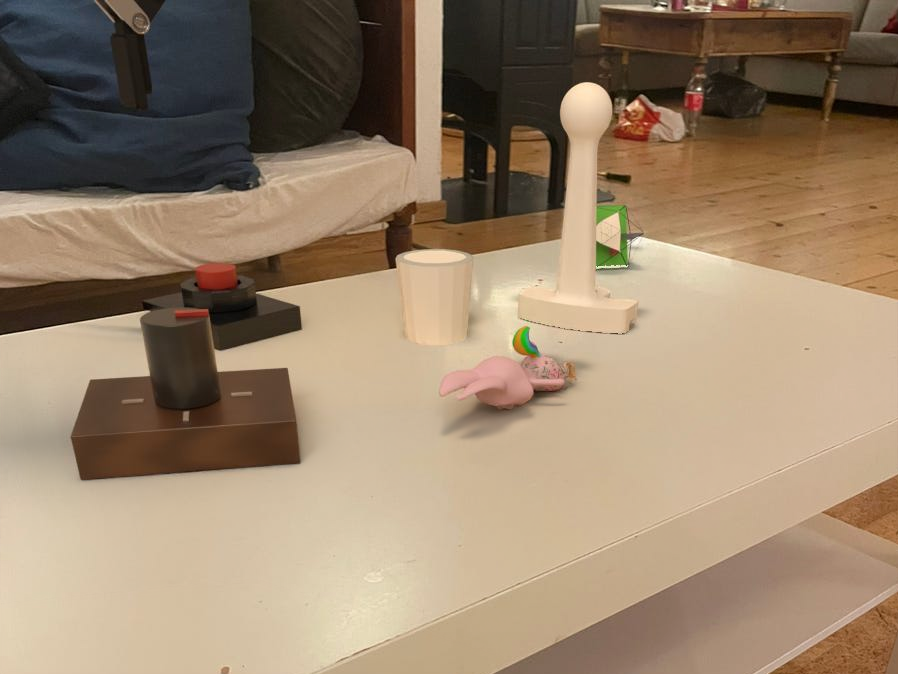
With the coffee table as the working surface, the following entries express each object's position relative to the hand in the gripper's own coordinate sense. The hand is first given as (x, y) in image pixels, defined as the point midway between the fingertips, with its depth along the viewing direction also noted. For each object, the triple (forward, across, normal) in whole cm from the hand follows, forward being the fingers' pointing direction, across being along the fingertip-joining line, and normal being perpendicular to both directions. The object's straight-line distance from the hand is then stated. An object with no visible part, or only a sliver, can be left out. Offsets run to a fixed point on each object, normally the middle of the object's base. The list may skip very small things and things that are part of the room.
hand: (55, 113), depth 59 cm
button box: (+20, -16, -21) cm, 33 cm away
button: (+16, -16, -21) cm, 31 cm away
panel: (+20, -4, +4) cm, 21 cm away
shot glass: (+20, -31, -7) cm, 38 cm away
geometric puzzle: (+20, -62, -20) cm, 68 cm away
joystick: (+20, -46, -5) cm, 50 cm away
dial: (+17, -4, +4) cm, 18 cm away
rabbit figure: (+20, -26, +11) cm, 35 cm away
